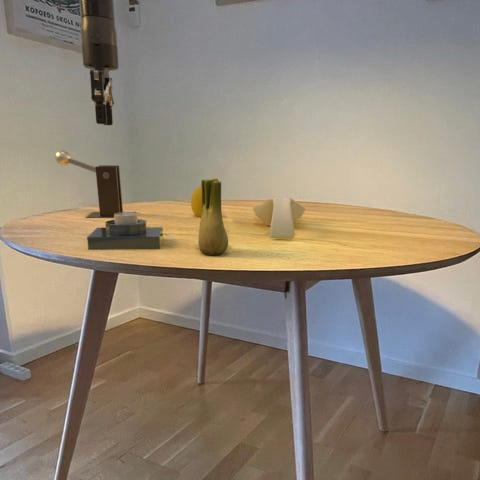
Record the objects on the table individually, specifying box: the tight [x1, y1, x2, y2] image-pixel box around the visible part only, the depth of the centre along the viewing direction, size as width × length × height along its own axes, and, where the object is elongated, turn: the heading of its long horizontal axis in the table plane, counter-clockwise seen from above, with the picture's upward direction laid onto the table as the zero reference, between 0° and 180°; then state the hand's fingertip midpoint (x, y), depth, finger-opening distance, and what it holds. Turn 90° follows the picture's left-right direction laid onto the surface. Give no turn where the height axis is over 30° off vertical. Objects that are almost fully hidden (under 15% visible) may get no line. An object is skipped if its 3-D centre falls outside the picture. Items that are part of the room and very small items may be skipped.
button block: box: [86, 218, 164, 251], centre depth 83 cm, size 12×9×4 cm
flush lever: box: [54, 149, 96, 174], centre depth 103 cm, size 13×3×3 cm, turn 95°
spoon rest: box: [252, 196, 307, 239], centre depth 98 cm, size 24×12×7 cm, turn 179°
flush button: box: [113, 211, 139, 224], centre depth 82 cm, size 4×4×2 cm
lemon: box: [190, 184, 202, 218], centre depth 107 cm, size 6×6×8 cm
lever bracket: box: [85, 164, 137, 219], centre depth 106 cm, size 10×8×12 cm
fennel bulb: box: [197, 178, 229, 256], centre depth 75 cm, size 6×5×12 cm
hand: (105, 124), depth 107 cm, fingers open, 8 cm apart
